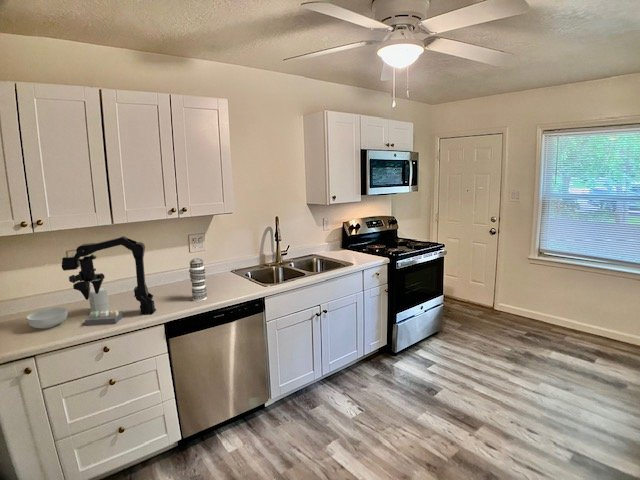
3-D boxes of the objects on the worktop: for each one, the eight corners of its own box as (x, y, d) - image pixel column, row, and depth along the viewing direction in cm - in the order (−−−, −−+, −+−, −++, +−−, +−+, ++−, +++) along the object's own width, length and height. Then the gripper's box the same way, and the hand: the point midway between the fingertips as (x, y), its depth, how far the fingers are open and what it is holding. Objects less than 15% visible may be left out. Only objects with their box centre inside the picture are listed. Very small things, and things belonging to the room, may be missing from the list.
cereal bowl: (27, 336, 174) (25, 322, 173) (29, 325, 188) (27, 312, 186) (69, 326, 184) (67, 313, 183) (69, 316, 197) (66, 304, 196)
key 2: (118, 314, 191) (118, 309, 191) (116, 316, 188) (115, 311, 188) (113, 315, 191) (112, 310, 191) (110, 317, 188) (109, 312, 188)
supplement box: (104, 307, 209) (101, 287, 207) (110, 310, 205) (106, 289, 202) (90, 311, 204) (87, 290, 201) (95, 314, 199) (92, 293, 197)
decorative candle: (189, 301, 215) (185, 261, 210) (194, 296, 224) (190, 257, 219) (205, 301, 215) (201, 260, 211) (209, 295, 224) (205, 257, 220)
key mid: (109, 315, 191) (108, 310, 190) (106, 317, 188) (105, 312, 188) (103, 315, 191) (102, 310, 190) (100, 317, 188) (99, 312, 187)
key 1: (99, 316, 191) (98, 311, 190) (96, 318, 188) (95, 313, 187) (93, 316, 190) (92, 311, 190) (90, 318, 187) (89, 313, 187)
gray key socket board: (124, 316, 195) (123, 311, 195) (115, 323, 186) (115, 318, 185) (95, 318, 194) (94, 312, 193) (85, 325, 184) (84, 320, 184)
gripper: (81, 264, 195) (86, 291, 198) (59, 274, 177) (65, 303, 180) (102, 263, 196) (107, 290, 199) (82, 272, 177) (88, 302, 180)
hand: (92, 296), depth 189 cm, fingers open, 9 cm apart
